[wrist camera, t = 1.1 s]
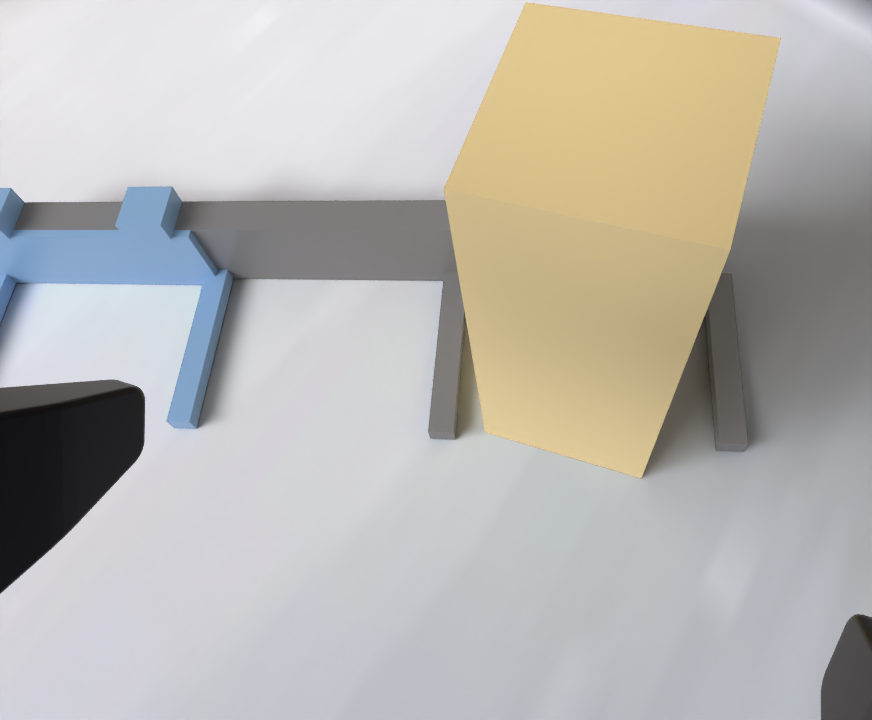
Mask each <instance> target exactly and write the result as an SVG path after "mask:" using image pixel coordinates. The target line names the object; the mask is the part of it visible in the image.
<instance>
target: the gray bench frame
mask: <svg viewBox="0 0 872 720" xmlns="http://www.w3.org/2000/svg"><path fill="white" fill-rule="evenodd" d="M233 278H236V279H330V280H425V281H443V289H442V299H441V309H440V319H439V329H438V339H437V349H436V359H435V369H434V379H433V389H432V399H431V409H430V419H429V429H428V433H429V435H430V438H431V439H453V440H455V437H456V425H457V413H458V401H459V389H460V376H461V364H462V352H463V340H464V328H465V311H464V305H463V299H462V294H461V288H460V282H459V276H458V270H457V264H456V258H455V253H454V247H453V241H452V235H451V229H450V223H449V217H448V211H447V206H446V200H415V201H222V202H182V201H181V199H180V198H179V196H178V195H177V193H176V192H175V190H174V189H173V187H128V189H127V192H126V195H125V198H124V201H123V202H28V203H25V202H24V201H23V200H22V199H21V198H20V197H19V196H18V195H17V194H16V193H15V192H14V191H13V190H12V189H11V188H0V323H1V320H2V318H3V315H4V313H5V310H6V308H7V305H8V302H9V300H10V297H11V295H12V292H13V290H14V287H15V285H16V283H80V284H164V285H202V289H201V293H200V297H199V301H198V304H197V308H196V312H195V316H194V319H193V323H192V327H191V331H190V334H189V338H188V342H187V346H186V350H185V353H184V357H183V361H182V365H181V368H180V372H179V376H178V380H177V384H176V387H175V391H174V395H173V399H172V402H171V406H170V410H169V414H168V418H167V422H168V423H169V424H170V425H171V426H173V427H174V428H189V429H197V425H198V421H199V416H200V412H201V408H202V404H203V400H204V396H205V392H206V388H207V384H208V380H209V376H210V372H211V367H212V363H213V359H214V355H215V351H216V347H217V343H218V339H219V335H220V331H221V327H222V323H223V318H224V314H225V310H226V306H227V302H228V298H229V294H230V290H231V286H232V282H233ZM705 320H706V332H707V345H708V358H709V371H710V383H711V396H712V409H713V422H714V434H715V447H716V450H717V451H741V452H743V451H744V450H745V448H746V447H747V446H748V438H747V428H746V418H745V408H744V398H743V387H742V377H741V367H740V357H739V347H738V337H737V327H736V317H735V307H734V296H733V286H732V276H731V274H721V275H720V278H719V281H718V283H717V286H716V288H715V291H714V293H713V296H712V299H711V301H710V304H709V306H708V309H707V311H706V314H705Z"/></svg>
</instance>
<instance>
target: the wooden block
mask: <svg viewBox="0 0 872 720" xmlns="http://www.w3.org/2000/svg"><path fill="white" fill-rule="evenodd" d="M780 40H781V38H777V37H770V36H763V35H756V34H748V33H741V32H734V31H727V30H720V29H713V28H706V27H699V26H692V25H684V24H677V23H670V22H663V21H656V20H649V19H642V18H635V17H627V16H620V15H613V14H606V13H599V12H592V11H585V10H578V9H570V8H563V7H556V6H549V5H542V4H535V3H528V2H526V3H525V5H524V8H523V10H522V12H521V14H520V17H519V19H518V21H517V24H516V26H515V28H514V30H513V33H512V35H511V37H510V39H509V42H508V44H507V46H506V49H505V51H504V53H503V55H502V58H501V60H500V62H499V64H498V67H497V69H496V71H495V74H494V76H493V78H492V80H491V83H490V85H489V87H488V89H487V92H486V94H485V96H484V99H483V101H482V103H481V105H480V108H479V110H478V112H477V114H476V117H475V119H474V121H473V124H472V126H471V128H470V130H469V133H468V135H467V137H466V140H465V142H464V144H463V146H462V149H461V151H460V153H459V155H458V158H457V160H456V162H455V165H454V167H453V169H452V171H451V174H450V176H449V178H448V180H447V183H446V185H445V187H444V194H445V200H446V206H447V211H448V217H449V223H450V229H451V235H452V241H453V247H454V253H455V258H456V264H457V270H458V276H459V282H460V288H461V294H462V299H463V305H464V311H465V317H466V323H467V329H468V335H469V341H470V346H471V352H472V358H473V364H474V370H475V376H476V382H477V388H478V393H479V399H480V405H481V411H482V417H483V423H484V429H485V432H486V433H490V434H493V435H496V436H500V437H503V438H506V439H510V440H513V441H517V442H520V443H523V444H527V445H530V446H533V447H537V448H540V449H544V450H547V451H550V452H554V453H557V454H561V455H564V456H567V457H571V458H574V459H577V460H581V461H584V462H588V463H591V464H594V465H598V466H601V467H604V468H608V469H611V470H615V471H618V472H621V473H625V474H628V475H632V476H635V477H638V478H642V476H643V473H644V470H645V468H646V465H647V463H648V460H649V458H650V455H651V452H652V450H653V447H654V445H655V442H656V440H657V437H658V434H659V432H660V429H661V427H662V424H663V422H664V419H665V417H666V414H667V411H668V409H669V406H670V404H671V401H672V399H673V396H674V393H675V391H676V388H677V386H678V383H679V381H680V378H681V375H682V373H683V370H684V368H685V365H686V363H687V360H688V358H689V355H690V352H691V350H692V347H693V345H694V342H695V340H696V337H697V334H698V332H699V329H700V327H701V324H702V322H703V319H704V316H705V314H706V311H707V309H708V306H709V304H710V301H711V299H712V296H713V293H714V291H715V288H716V286H717V283H718V281H719V278H720V275H721V273H722V270H723V268H724V265H725V263H726V260H727V257H728V255H729V252H730V250H731V245H732V241H733V237H734V233H735V229H736V224H737V220H738V216H739V212H740V208H741V204H742V199H743V195H744V191H745V187H746V183H747V178H748V174H749V170H750V166H751V162H752V157H753V153H754V149H755V145H756V141H757V136H758V132H759V128H760V124H761V120H762V116H763V111H764V107H765V103H766V99H767V95H768V90H769V86H770V82H771V78H772V74H773V69H774V65H775V61H776V57H777V53H778V48H779V44H780Z"/></svg>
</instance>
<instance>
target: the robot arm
mask: <svg viewBox="0 0 872 720" xmlns="http://www.w3.org/2000/svg"><path fill="white" fill-rule="evenodd" d="M144 434H145V396H144V393H143V391H142V390H141V389H140V388H139V387H137V386H134V385H131V384H128V383H125V382H122V381H118V380H99V381H86V382H73V383H59V384H46V385H32V386H19V387H6V388H0V594H1V593H2V592H3V591H4V590H5V589H6V588H7V587H9V586H10V585H11V584H12V583H13V582H14V581H15V580H17V579H18V578H19V577H20V576H21V575H22V574H23V573H24V572H26V571H27V570H28V569H29V568H30V567H31V566H32V565H34V564H35V563H36V562H37V561H38V560H39V559H40V558H42V557H43V556H44V555H45V554H46V553H47V552H48V551H49V550H51V549H52V548H53V547H54V546H55V545H56V544H57V543H58V542H59V541H60V540H61V539H62V538H64V537H65V536H66V535H67V534H68V533H69V532H70V531H71V530H72V529H73V527H74V526H75V525H76V524H77V523H78V522H79V521H80V520H81V519H82V518H83V517H84V516H85V515H86V514H87V513H88V512H89V511H90V510H91V508H92V507H93V506H94V505H95V504H96V503H97V502H98V501H99V500H100V499H101V498H102V497H103V496H104V495H105V494H106V492H107V491H108V490H109V489H110V488H111V487H112V486H113V485H114V484H115V483H116V482H117V481H118V480H119V479H120V478H121V476H122V475H123V474H124V473H125V472H126V471H127V470H128V469H129V468H130V467H131V466H132V465H133V464H134V463H135V462H136V460H137V459H138V458H139V456H140V454H141V452H142V450H143V446H144ZM821 720H872V617H868V616H865V615H860V614H857V615H854V616H852V617H851V618H850V619H849V620H848V622H847V623H846V625H845V628H844V630H843V632H842V635H841V637H840V639H839V641H838V644H837V646H836V648H835V651H834V653H833V655H832V658H831V660H830V662H829V664H828V667H827V669H826V672H825V674H824V678H823V682H822V688H821Z"/></svg>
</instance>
